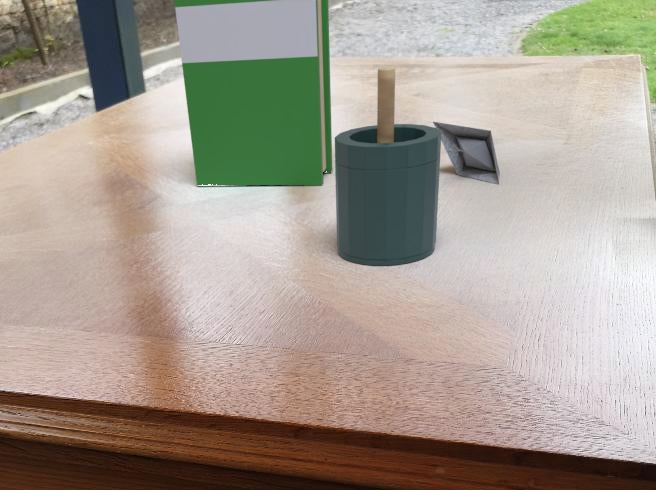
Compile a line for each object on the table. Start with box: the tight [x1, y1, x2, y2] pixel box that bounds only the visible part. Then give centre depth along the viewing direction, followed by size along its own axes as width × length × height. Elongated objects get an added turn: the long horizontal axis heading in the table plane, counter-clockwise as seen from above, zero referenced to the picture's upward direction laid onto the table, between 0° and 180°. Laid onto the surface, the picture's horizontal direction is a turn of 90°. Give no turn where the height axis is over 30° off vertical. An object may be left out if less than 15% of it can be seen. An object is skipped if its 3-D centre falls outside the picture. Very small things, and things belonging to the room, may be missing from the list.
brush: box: [376, 66, 396, 143], centre depth 76 cm, size 4×4×16 cm
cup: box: [334, 123, 442, 267], centre depth 78 cm, size 10×10×11 cm
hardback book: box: [173, 0, 333, 187], centre depth 102 cm, size 18×7×24 cm, turn 75°
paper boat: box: [432, 121, 501, 185], centre depth 100 cm, size 12×6×9 cm
